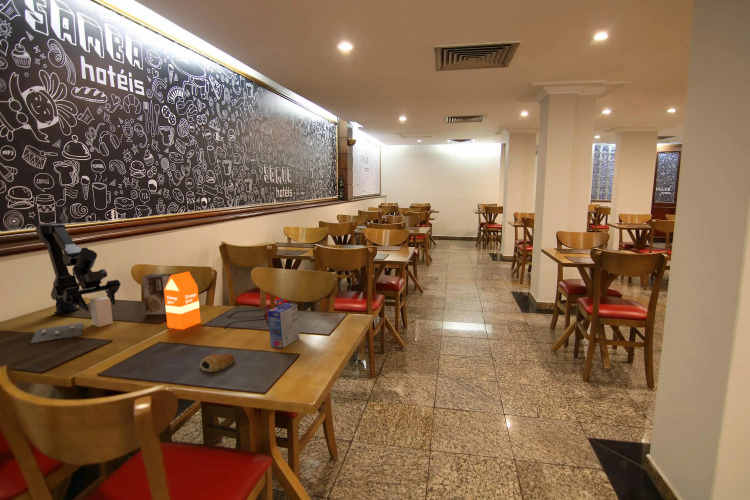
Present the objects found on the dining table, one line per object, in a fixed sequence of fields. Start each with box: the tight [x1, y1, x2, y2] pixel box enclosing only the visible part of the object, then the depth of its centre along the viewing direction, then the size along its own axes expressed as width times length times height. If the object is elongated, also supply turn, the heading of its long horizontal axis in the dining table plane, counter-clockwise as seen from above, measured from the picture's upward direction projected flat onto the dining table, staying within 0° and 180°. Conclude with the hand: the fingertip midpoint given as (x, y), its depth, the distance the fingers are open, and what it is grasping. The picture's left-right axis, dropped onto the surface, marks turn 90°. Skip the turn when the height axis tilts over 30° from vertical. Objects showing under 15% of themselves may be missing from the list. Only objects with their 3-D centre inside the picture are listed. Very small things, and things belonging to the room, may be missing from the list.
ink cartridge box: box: [267, 298, 300, 349], centre depth 136 cm, size 10×6×14 cm, turn 158°
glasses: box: [223, 304, 270, 330], centre depth 160 cm, size 14×16×5 cm
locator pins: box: [42, 325, 74, 336], centre depth 148 cm, size 5×9×2 cm, turn 123°
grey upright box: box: [142, 273, 172, 315], centre depth 173 cm, size 9×6×16 cm
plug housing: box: [89, 296, 114, 328], centre depth 159 cm, size 5×5×10 cm
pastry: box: [199, 353, 235, 373], centre depth 120 cm, size 9×7×4 cm
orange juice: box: [164, 271, 201, 330], centre depth 156 cm, size 8×9×20 cm
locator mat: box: [30, 322, 84, 344], centre depth 150 cm, size 16×14×1 cm
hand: (101, 307), depth 159 cm, fingers open, 9 cm apart
